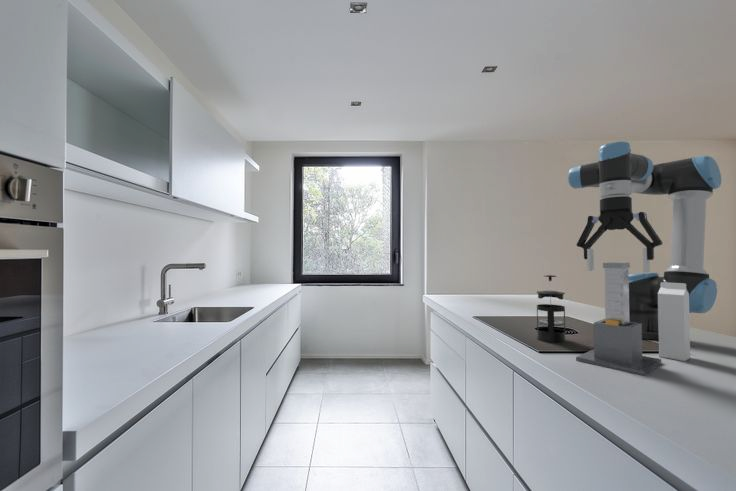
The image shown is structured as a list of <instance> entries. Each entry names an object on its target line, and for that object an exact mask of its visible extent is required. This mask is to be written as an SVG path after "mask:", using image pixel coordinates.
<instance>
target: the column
mask: <svg viewBox="0 0 736 491" xmlns="http://www.w3.org/2000/svg"><path fill="white" fill-rule="evenodd" d="M602 268H604V300H605V301H604V305H605V306H604V307H605V308H604V309H605V310H604V311H605V314H604V315H605V318H604V319H606V320H607V319H609V320H616V321H620V325H622V326H630V323H629V268H631V264H630V262H617V261H615V262H613V261H612V262H611V261H610V262H602Z"/></svg>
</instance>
